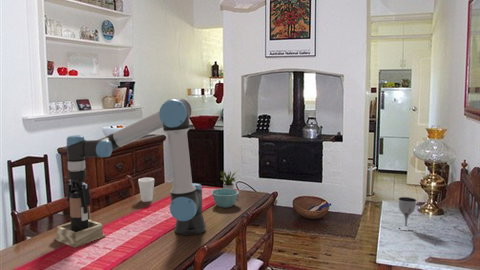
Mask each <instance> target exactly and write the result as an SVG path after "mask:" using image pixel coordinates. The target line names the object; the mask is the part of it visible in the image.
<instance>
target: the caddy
mask: <svg viewBox="0 0 480 270" xmlns="http://www.w3.org/2000/svg"><path fill="white" fill-rule="evenodd" d="M103 227H104V226H103V223H101V222H97V221H94V220H92V219H90V220H89V219H88V228H87V229H84V230H81V231H78V232H74V231H72V228H71V221H70V222H67V223H63V224H61V225H60V224H59V225H57V226H56V234H57V235H56V236H55V237H53V238H54V240H55V241H58V242H60V243H62V244H64V245H67V246H69V247H72V248H78V247H81V246H83V245H86V243H87V244H89V243H91V241H92V242H95V241H97V239H98V240H100V238H101V239H102V238H103V239H104V238H106V237H105V236H107V235H106V234H105V233H104V232H103V230H104V229H103ZM94 240H95V241H94Z"/></svg>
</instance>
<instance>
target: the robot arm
mask: <svg viewBox="0 0 480 270" xmlns="http://www.w3.org/2000/svg"><path fill="white" fill-rule="evenodd" d="M191 115H192V105H191V104H190V103H189V101H188V100H186V99H184V98H180V97H177V98H171V99H167V100H166V101H165V102H163V104H162V105H161V106H160V107H159V111H157V112H155V113H153V114H151V115H148V116H146V117H144V118H142V119H140V120H137V121H136V122H134V123H131V124H129V125H128V126H125V127H123V128H121V129H119V130H117V131H115V132H113V133H111V134H110V133H109V134H108V135H107V136H104V137H101V138H99V139H96V140H93V139H92V140H87V139H85V136H84V135H69V136H67V138H66V156H67V170H68V171H67V173H68V177H67V178H68V180H67V181H66V185H67V186H66V187H67V189H66V201H67V202H69V204H70V197H69V192H70V191H72V193H74V192H76V191H77V192H78V193H82V192H83V194H80V197H81V203H82V206H81V217H82V221H84V220H87V219H88V206H89V205H92V203H91V197H90V195H91V194H90V188H89V187H90V184H89V183H85V178H87V171H86V168H87V167H86V158H101V159H102V158H103V159H104V158H109V157H111V155H112V152H113V151H115V150H118V149H119V148H122V147H123V146H125V145H128V144H131V143H132V142H134V141H137V140H138V139H141V138H143V137H145V136H147V135H149V134H152V133H154V132H156V131H158V130H160V129H163V132H164V133H165V134H166V135H167V142H168V149H169V150H168V152H169V160H170V171H171V179H172V188H171V189H170V191H169V192H170V200H171V201H170V204H169V213H170V215H171V217H173V218H174V219H175V224H174V232H175V233H176V234H178V235H182V236H196V235H200V234H203V233H205V232H206V231H207V224H206V222H205V218H204V215H203V186H202V184H201V183H195V182H194V183H193V178H192V167H191V160H190V158H191V157H190V150H189V149H190V148H189V140H188V131H189V130H190V129H191V127H190V117H191Z"/></svg>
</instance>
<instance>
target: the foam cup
mask: <svg viewBox="0 0 480 270" xmlns="http://www.w3.org/2000/svg"><path fill="white" fill-rule="evenodd" d="M137 182H138V183H137V184H138V187H139V193H140V199H141V202H142V203H143V202H144V203H145V202H148V203H149V202H152V201H153V198H154V197H153V196H154V189H155V188H154V187H155V178H153V177H142V178H138V181H137Z"/></svg>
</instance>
